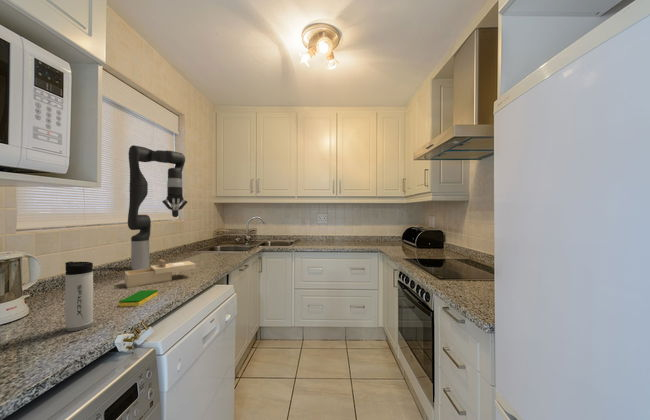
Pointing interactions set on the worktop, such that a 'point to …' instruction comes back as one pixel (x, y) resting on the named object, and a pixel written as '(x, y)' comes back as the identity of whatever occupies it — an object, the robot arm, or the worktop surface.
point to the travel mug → (78, 295)
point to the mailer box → (145, 277)
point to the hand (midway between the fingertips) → (175, 217)
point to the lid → (172, 266)
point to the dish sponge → (138, 298)
